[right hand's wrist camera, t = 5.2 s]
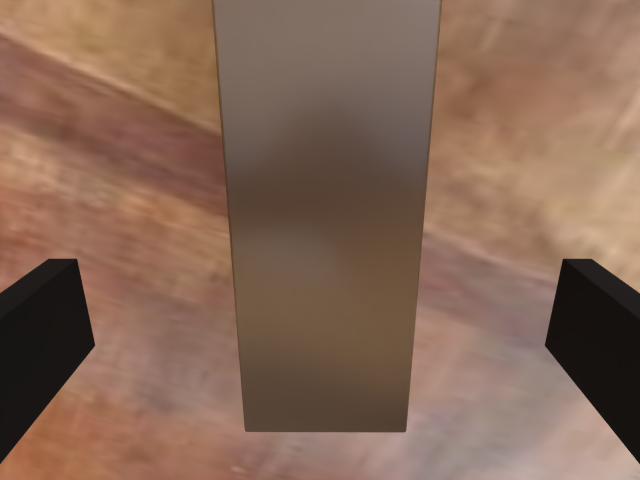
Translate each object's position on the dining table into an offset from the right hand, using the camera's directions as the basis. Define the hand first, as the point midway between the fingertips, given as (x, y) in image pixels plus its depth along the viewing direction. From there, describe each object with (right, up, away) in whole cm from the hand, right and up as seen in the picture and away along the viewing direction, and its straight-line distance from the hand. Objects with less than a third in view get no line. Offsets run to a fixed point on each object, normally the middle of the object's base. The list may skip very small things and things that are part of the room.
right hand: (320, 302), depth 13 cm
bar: (0, +11, +4) cm, 12 cm away
